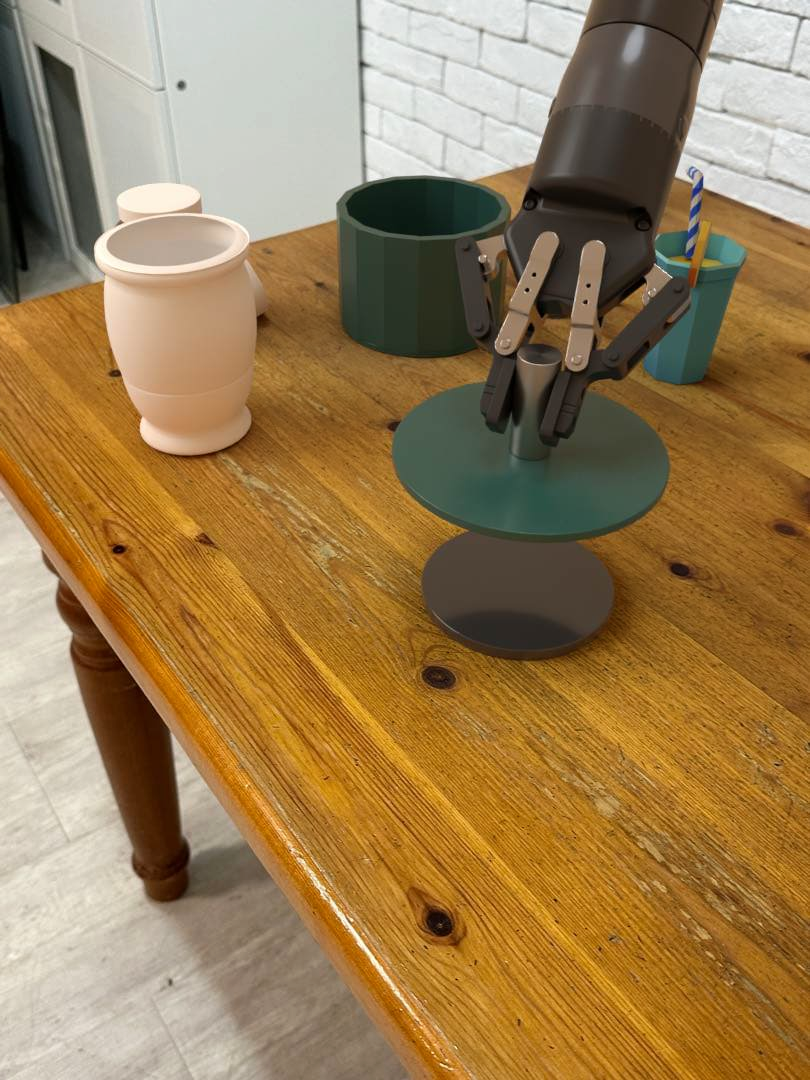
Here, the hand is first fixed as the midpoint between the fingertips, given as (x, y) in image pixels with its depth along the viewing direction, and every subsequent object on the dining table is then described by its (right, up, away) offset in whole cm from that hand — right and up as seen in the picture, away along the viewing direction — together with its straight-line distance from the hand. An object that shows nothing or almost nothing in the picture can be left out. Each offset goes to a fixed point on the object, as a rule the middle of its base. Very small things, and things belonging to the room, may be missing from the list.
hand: (520, 434), depth 56 cm
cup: (+17, +9, +33) cm, 38 cm away
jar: (-22, +3, +24) cm, 33 cm away
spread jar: (-25, +14, +38) cm, 47 cm away
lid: (+1, -1, +3) cm, 3 cm away
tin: (-5, +14, +39) cm, 42 cm away
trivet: (+1, -9, +9) cm, 13 cm away
